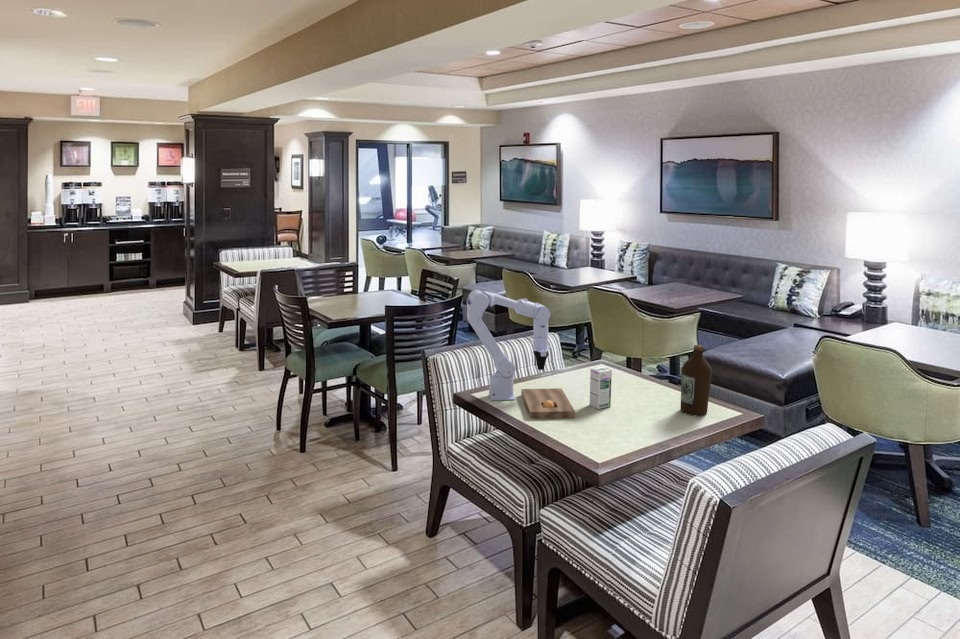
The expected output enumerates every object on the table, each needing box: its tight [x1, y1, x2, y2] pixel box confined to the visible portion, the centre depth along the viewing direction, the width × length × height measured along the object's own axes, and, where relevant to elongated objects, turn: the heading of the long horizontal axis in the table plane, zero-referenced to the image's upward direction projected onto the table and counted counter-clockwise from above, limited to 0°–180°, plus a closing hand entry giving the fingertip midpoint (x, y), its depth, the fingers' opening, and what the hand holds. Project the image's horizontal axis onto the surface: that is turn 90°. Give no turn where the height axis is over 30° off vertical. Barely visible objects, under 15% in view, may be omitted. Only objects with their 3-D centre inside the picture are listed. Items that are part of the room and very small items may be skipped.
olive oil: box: [679, 344, 713, 416], centre depth 245 cm, size 11×11×25 cm
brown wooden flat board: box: [520, 387, 576, 419], centre depth 253 cm, size 16×26×2 cm, turn 4°
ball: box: [543, 400, 554, 408], centre depth 248 cm, size 4×4×4 cm
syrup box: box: [589, 366, 613, 410], centre depth 252 cm, size 6×6×14 cm
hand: (540, 369), depth 264 cm, fingers closed
